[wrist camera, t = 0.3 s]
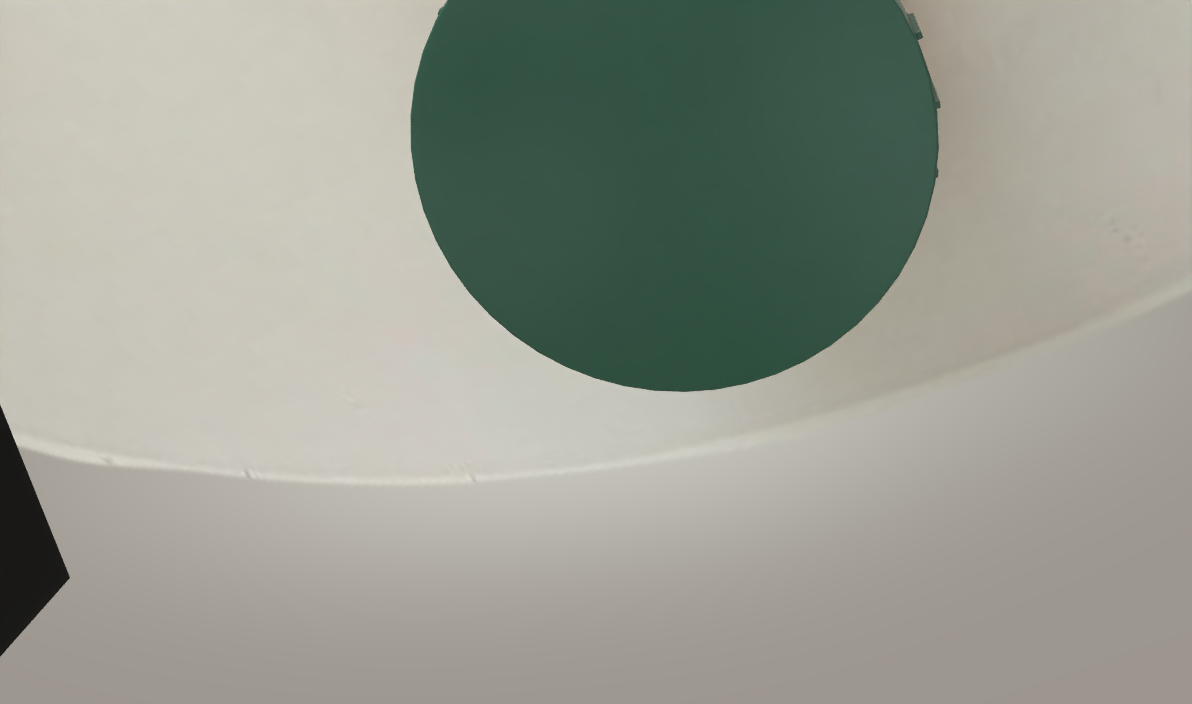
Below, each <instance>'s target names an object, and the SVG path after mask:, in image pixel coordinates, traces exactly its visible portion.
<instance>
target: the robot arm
mask: <svg viewBox="0 0 1192 704" xmlns="http://www.w3.org/2000/svg"><path fill="white" fill-rule="evenodd" d="M69 578H70V577H69V574H68V572H67V569H66V567H65V564H64V562H63V559H62V557H61V554H60V552H59V549H58V547H57V544H56V542H55V540H54V537H53V535H52V532H51V530H50V527H49V525H48V522H47V520H46V517H45V515H44V512H43V510H42V507H41V505H40V503H39V500H38V497H37V495H36V492H35V490H34V487H33V485H32V482H31V480H30V478H29V475H28V472H27V470H26V468H25V465H24V463H23V460H22V458H21V455H20V453H19V450H18V448H17V445H16V443H15V440H14V438H13V435H12V433H11V430H10V428H9V425H8V423H7V420H6V418H5V415H4V413H3V410H2V408H1V405H0V656H1V655H2V654H3V653H4V652H5V651H6V649H7V648H8V647H9V646H10V645H11V644H12V643H13V641H14V640H15V639H16V638H17V637H18V636H19V635H20V633H21V632H22V631H23V630H24V629H25V628H26V627H27V626H28V624H29V623H30V622H31V621H32V620H33V619H34V618H35V617H36V615H37V614H38V613H39V612H40V611H41V610H42V609H43V608H44V606H45V605H46V604H47V603H48V602H49V601H50V600H51V599H52V597H53V596H54V595H55V594H56V593H57V592H58V591H59V589H60V588H61V587H62V586H63V585H64V584H65V583H66V581H67V580H68V579H69Z"/></svg>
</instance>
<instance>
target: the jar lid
mask: <svg viewBox="0 0 1192 704" xmlns="http://www.w3.org/2000/svg"><path fill="white" fill-rule="evenodd" d="M438 15H439V16H438V17H437V19H436V21H435V24H434V26H433V28H432V31H431V33H430V36H429V38H428V40H427V43H426V45H425V48H424V50H423V53H422V57H421V61H420V65H419V69H418V72H417V76H416V80H415V84H414V93H413V101H412V109H411V152H412V159H413V166H414V174H415V180H416V184H417V188H418V191H419V195H420V199H421V202H422V206H423V210H424V213H425V215H426V217H427V220H428V222H429V225H430V227H431V230H432V232H433V235H434V237H435V239H436V241H437V243H438V245H439V247H440V249H441V250H442V252H443V254H444V256H445V258H446V259H447V261H448V263H449V265H450V266H451V268H452V269H453V271H454V272H455V274H456V275H457V276H458V278H459V279H460V280H461V282H462V283H463V285H464V286H465V287H466V289H467V290H468V291H469V293H470V294H471V295H472V296H473V297H474V298H475V299H476V300H477V301H478V302H479V304H480V305H481V306H482V307H483V308H484V309H485V310H486V311H487V312H488V313H489V314H490V315H491V316H492V317H493V318H494V319H495V320H496V321H498V322H499V323H500V324H501V325H502V326H503V327H505V328H506V329H507V330H508V331H509V332H510V333H511V334H513V335H514V336H515V337H517V338H518V339H520V340H521V341H523V342H524V343H526V344H527V345H529V346H530V347H532V348H533V349H534V350H536V351H537V352H539V353H541V354H543V355H545V356H546V357H548V358H550V359H552V360H554V361H556V362H558V363H560V364H562V365H563V366H565V367H568V368H570V369H573V370H575V371H578V372H580V373H583V374H586V375H588V376H591V377H593V378H596V379H600V380H604V381H608V382H611V383H615V384H619V385H622V386H628V387H634V388H641V389H647V390H654V391H679V392H688V391H702V390H715V389H721V388H726V387H731V386H736V385H742V384H747V383H750V382H753V381H756V380H759V379H762V378H766V377H769V376H772V375H775V374H778V373H780V372H782V371H784V370H786V369H789V368H791V367H793V366H795V365H797V364H800V363H802V362H804V361H806V360H807V359H809V358H811V357H812V356H814V355H816V354H817V353H819V352H821V351H822V350H824V349H825V348H827V347H829V346H830V345H832V344H833V343H834V342H836V341H837V340H838V339H839V338H841V337H842V336H843V335H845V334H846V333H847V332H848V331H850V330H851V329H852V328H853V327H855V326H856V325H857V324H858V323H859V322H860V321H861V320H862V319H863V318H864V317H865V316H866V315H867V314H868V313H869V312H870V311H871V310H872V309H873V308H874V307H875V306H876V305H877V304H878V303H879V301H880V300H881V299H882V297H883V296H884V295H885V293H886V292H887V291H888V289H889V288H890V287H891V285H892V284H893V283H894V281H895V280H896V279H897V277H898V276H899V274H900V273H901V271H902V269H903V267H904V265H905V264H906V262H907V260H908V258H909V257H910V255H911V253H912V251H913V249H914V248H915V245H916V243H917V240H918V238H919V235H920V233H921V230H922V228H923V225H924V223H925V220H926V218H927V215H928V210H929V206H930V202H931V198H932V194H933V190H934V186H935V180H936V178H937V177H938V169H937V160H938V150H939V144H938V120H937V109H938V108H940V101H939V98H938V96H937V93H936V91H935V88H934V85H933V83H932V80H931V77H930V74H929V71H928V68H927V66H926V63H925V60H924V57H923V54H922V51H921V48H920V45H919V42H918V40H919V39H921V38H923V36H922V33H921V31H920V29H919V26H918V24H917V21H916V19H915V17H914V14H913V13H912V14H910V15H907V13H906V11H905V9H904V7H903V5H902V3H901V1H900V0H447V2H446V4H445V5H444V6H443V7H442V8H441V9H440V10H439V12H438Z"/></svg>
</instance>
